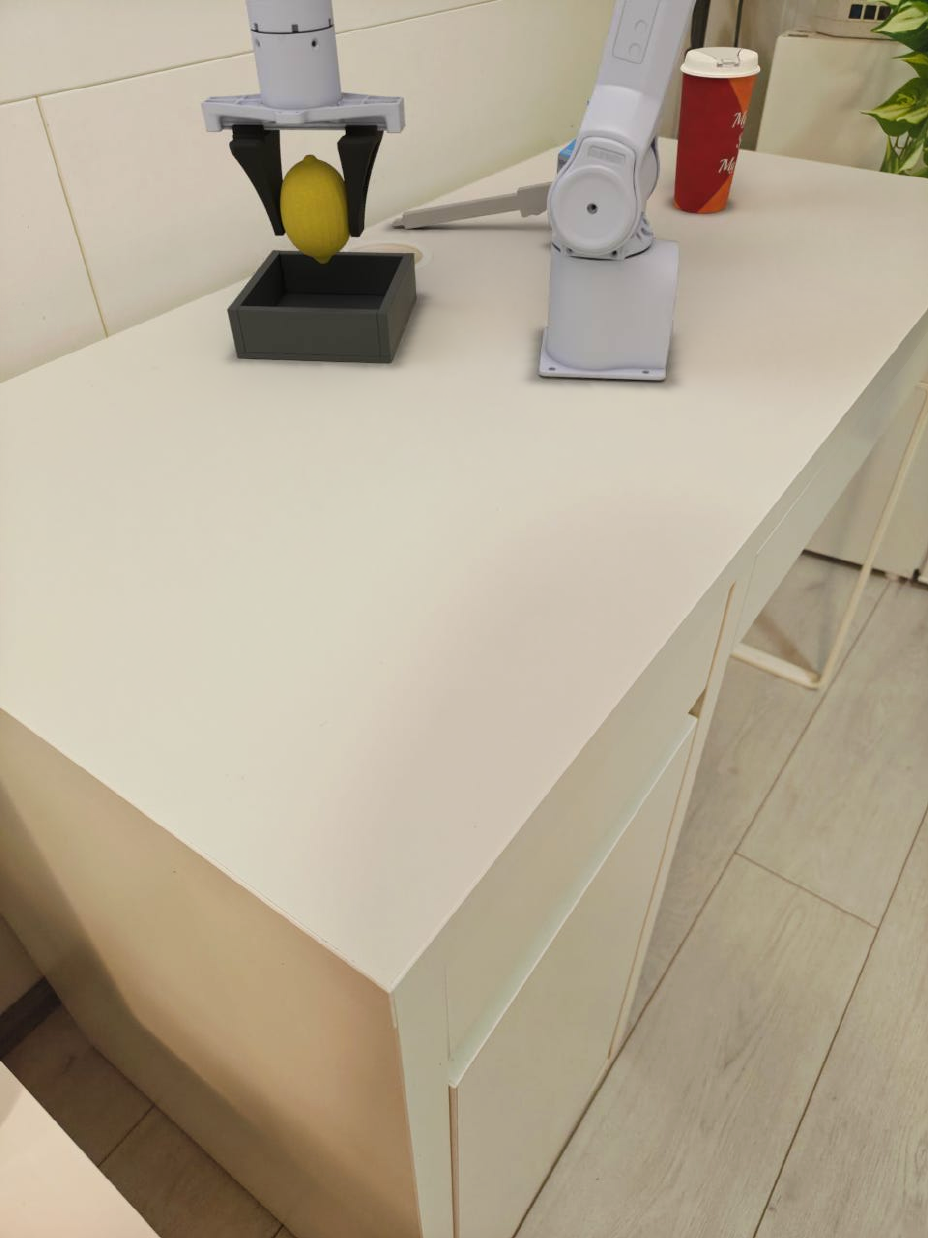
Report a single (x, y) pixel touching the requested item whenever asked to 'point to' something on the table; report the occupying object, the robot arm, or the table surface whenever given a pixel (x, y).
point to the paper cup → (711, 124)
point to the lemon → (315, 208)
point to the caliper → (481, 207)
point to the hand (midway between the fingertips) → (319, 232)
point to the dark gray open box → (325, 307)
